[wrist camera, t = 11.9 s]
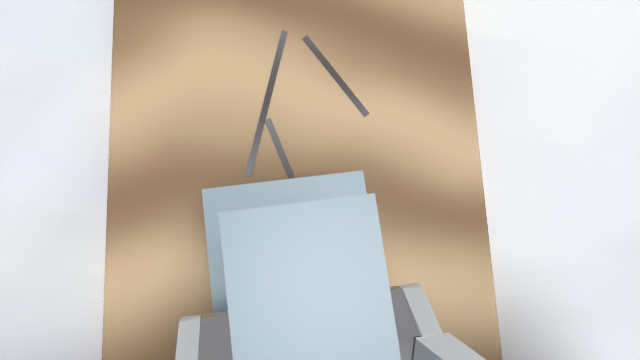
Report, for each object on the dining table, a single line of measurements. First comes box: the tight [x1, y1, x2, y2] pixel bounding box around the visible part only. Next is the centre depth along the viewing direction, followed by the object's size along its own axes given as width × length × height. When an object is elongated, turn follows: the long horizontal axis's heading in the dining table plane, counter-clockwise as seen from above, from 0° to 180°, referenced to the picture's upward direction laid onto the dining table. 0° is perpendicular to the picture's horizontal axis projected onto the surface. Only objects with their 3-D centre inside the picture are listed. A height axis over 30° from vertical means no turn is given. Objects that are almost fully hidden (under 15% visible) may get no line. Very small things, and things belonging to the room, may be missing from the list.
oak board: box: [102, 0, 502, 360], centre depth 18 cm, size 26×14×2 cm, turn 3°
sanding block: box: [202, 170, 401, 360], centre depth 13 cm, size 9×5×8 cm, turn 8°
